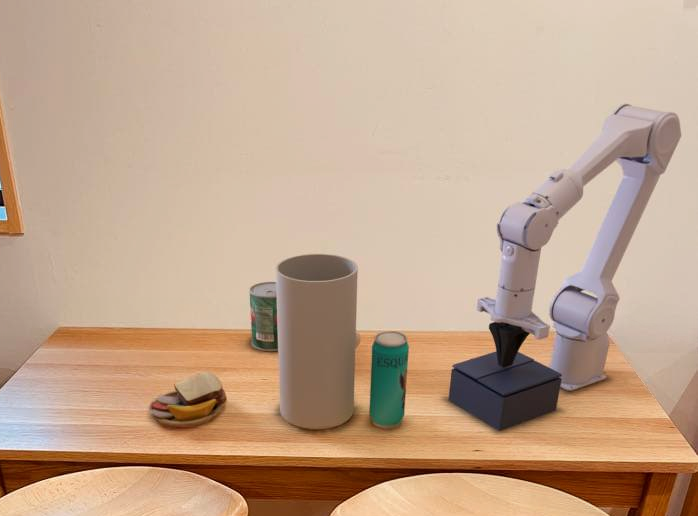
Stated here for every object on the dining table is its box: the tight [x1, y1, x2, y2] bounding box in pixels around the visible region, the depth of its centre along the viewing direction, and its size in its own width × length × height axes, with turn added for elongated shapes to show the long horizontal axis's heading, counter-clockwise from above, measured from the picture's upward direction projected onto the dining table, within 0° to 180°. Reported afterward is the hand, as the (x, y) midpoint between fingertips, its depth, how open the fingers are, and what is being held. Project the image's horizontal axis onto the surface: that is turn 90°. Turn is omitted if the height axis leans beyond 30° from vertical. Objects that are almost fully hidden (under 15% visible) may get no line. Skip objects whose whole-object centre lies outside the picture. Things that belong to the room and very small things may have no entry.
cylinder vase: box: [275, 253, 359, 430], centre depth 136 cm, size 12×12×25 cm
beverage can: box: [369, 330, 410, 430], centre depth 136 cm, size 6×6×15 cm
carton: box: [447, 360, 562, 432], centre depth 143 cm, size 13×13×7 cm
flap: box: [451, 351, 535, 380], centre depth 143 cm, size 6×13×1 cm, turn 121°
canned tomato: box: [248, 281, 278, 352], centre depth 164 cm, size 8×8×11 cm
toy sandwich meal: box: [147, 371, 227, 428], centre depth 144 cm, size 12×14×5 cm
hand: (505, 364), depth 141 cm, fingers closed
